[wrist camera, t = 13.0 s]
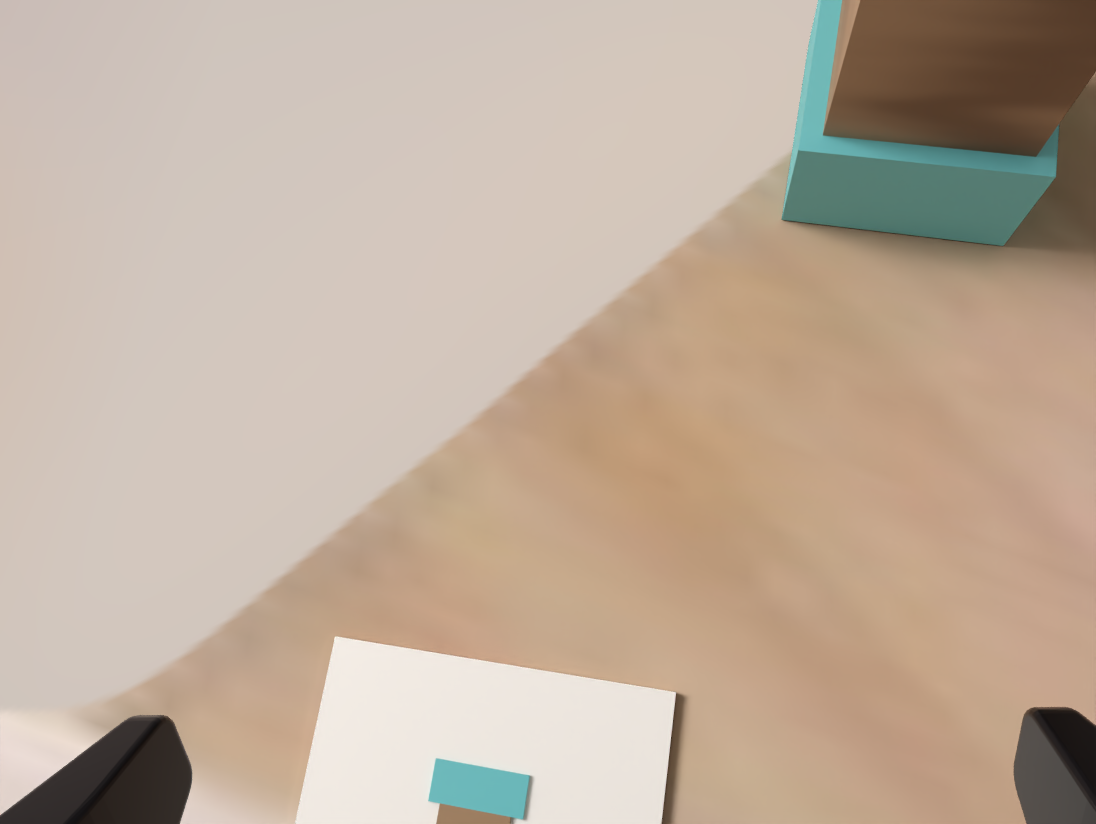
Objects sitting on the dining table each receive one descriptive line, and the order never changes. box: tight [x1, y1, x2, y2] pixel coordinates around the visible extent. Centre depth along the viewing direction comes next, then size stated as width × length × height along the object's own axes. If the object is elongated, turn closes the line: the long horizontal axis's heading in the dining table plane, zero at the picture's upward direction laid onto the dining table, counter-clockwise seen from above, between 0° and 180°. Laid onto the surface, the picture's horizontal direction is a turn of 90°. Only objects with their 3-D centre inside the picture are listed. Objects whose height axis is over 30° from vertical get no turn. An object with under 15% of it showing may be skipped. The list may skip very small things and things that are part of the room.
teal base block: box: [782, 0, 1059, 246], centre depth 24 cm, size 6×6×4 cm
